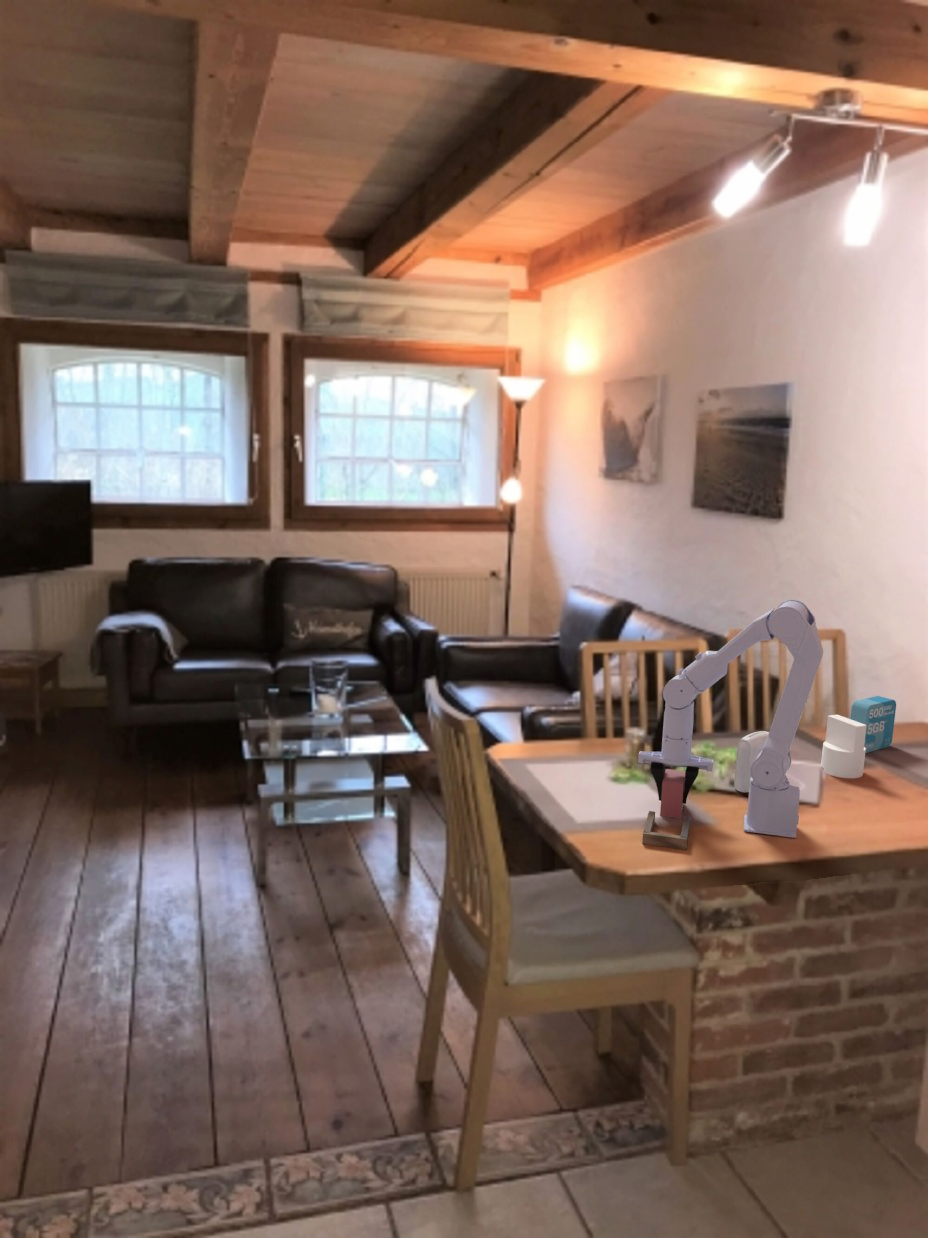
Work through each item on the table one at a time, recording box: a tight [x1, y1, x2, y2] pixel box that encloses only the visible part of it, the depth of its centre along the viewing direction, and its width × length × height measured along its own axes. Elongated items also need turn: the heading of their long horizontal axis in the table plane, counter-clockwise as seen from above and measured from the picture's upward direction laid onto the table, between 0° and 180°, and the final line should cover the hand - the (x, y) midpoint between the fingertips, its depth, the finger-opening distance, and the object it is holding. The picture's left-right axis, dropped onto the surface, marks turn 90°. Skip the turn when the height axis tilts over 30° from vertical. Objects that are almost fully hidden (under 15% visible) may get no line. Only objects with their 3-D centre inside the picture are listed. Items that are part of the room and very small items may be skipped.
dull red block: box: [659, 768, 686, 819], centre depth 201 cm, size 4×8×7 cm, turn 164°
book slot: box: [641, 810, 691, 851], centre depth 189 cm, size 8×11×2 cm
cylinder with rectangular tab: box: [820, 714, 867, 779], centre depth 226 cm, size 9×9×12 cm
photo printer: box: [733, 730, 769, 794], centre depth 214 cm, size 10×4×12 cm, turn 123°
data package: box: [849, 695, 897, 754], centre depth 244 cm, size 12×4×12 cm, turn 125°
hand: (672, 800), depth 201 cm, fingers closed on dull red block, 4 cm apart
